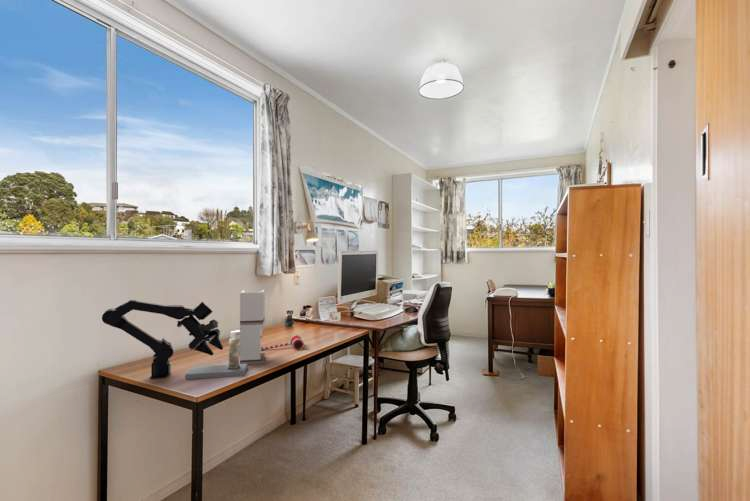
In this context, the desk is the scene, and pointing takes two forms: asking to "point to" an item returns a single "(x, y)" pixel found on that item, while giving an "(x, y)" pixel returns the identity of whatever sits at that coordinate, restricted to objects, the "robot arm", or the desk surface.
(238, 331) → the ink box
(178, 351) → the desk surface
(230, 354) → the wooden leg
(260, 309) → the tall grey banded box
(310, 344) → the desk surface
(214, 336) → the robot arm
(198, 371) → the board
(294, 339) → the toy hammer
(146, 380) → the desk surface
